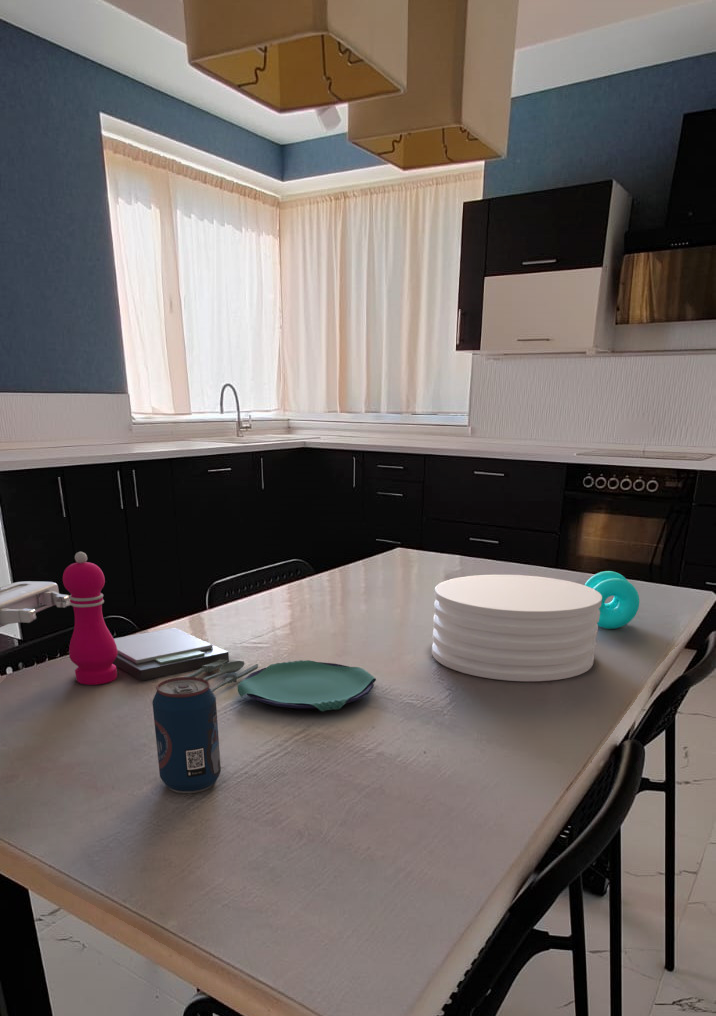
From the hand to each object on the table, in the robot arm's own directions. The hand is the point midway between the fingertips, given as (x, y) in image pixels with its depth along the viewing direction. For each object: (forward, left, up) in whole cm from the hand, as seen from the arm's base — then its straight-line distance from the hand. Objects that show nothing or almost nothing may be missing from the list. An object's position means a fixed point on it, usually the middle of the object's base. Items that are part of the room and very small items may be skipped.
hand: (51, 608), depth 120 cm
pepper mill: (+5, +4, -11) cm, 13 cm away
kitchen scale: (+2, +17, -11) cm, 20 cm away
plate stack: (+38, +66, -11) cm, 77 cm away
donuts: (+36, +98, -11) cm, 105 cm away
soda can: (+47, -2, -11) cm, 49 cm away
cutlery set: (+27, +24, -11) cm, 38 cm away
